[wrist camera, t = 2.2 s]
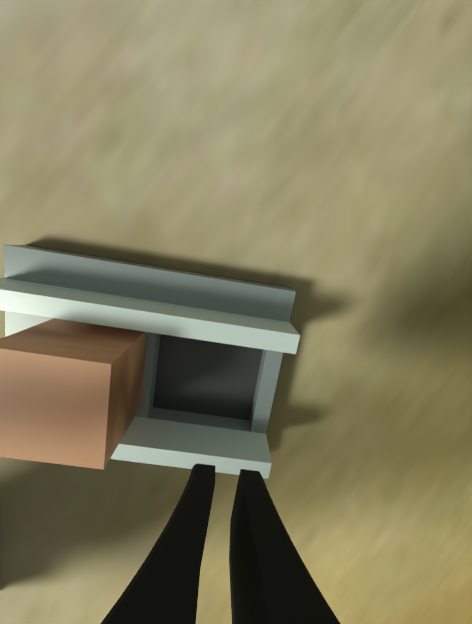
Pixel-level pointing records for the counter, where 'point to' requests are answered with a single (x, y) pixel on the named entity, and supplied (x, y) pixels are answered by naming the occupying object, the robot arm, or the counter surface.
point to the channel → (171, 349)
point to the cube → (69, 391)
